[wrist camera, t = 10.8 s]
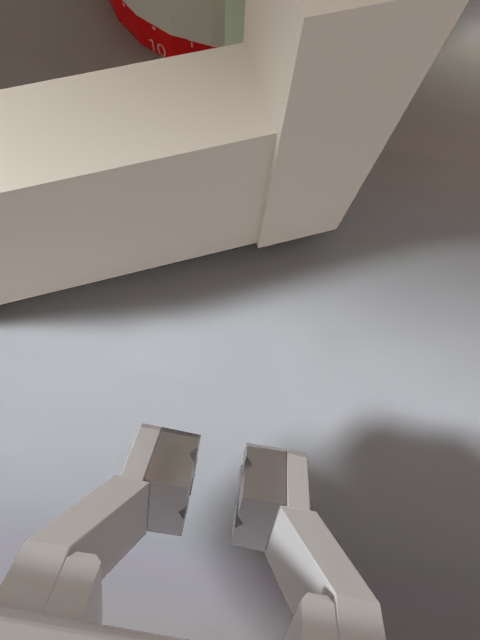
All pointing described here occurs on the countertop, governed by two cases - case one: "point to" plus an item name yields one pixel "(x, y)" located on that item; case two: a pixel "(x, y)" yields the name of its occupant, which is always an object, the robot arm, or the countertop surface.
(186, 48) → the kitchen timer
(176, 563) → the countertop surface
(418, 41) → the cream l-shaped block
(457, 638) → the countertop surface
